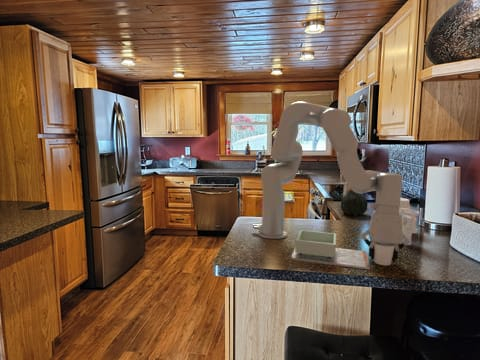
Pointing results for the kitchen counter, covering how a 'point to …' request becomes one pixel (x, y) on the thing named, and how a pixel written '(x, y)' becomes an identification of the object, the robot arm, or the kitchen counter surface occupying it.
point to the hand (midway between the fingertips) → (382, 259)
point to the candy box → (346, 189)
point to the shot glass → (383, 253)
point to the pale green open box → (316, 243)
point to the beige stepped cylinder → (409, 222)
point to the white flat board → (338, 258)
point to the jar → (404, 204)
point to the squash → (354, 203)
